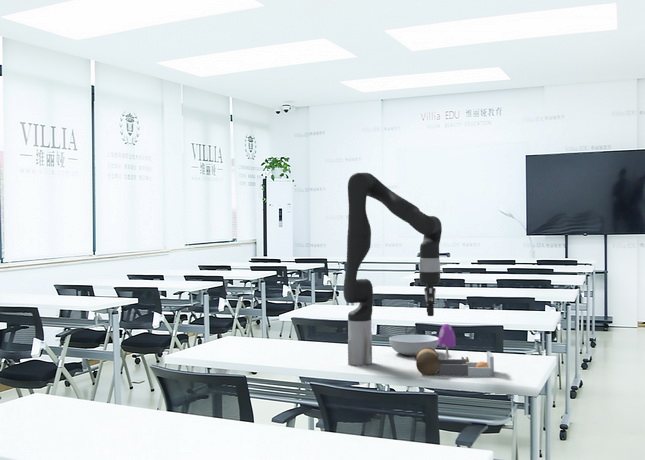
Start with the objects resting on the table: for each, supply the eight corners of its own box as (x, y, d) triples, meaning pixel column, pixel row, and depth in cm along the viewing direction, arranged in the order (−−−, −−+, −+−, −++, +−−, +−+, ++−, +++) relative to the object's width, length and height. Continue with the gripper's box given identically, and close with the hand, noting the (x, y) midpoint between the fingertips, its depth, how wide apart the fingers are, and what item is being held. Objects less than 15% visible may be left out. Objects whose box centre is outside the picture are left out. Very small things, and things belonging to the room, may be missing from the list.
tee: (461, 369, 238) (461, 358, 238) (460, 367, 241) (460, 356, 241) (469, 369, 237) (469, 358, 238) (468, 367, 240) (468, 356, 240)
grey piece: (439, 375, 228) (439, 356, 228) (438, 369, 238) (438, 351, 238) (493, 376, 226) (493, 356, 226) (490, 370, 235) (490, 351, 235)
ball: (473, 369, 229) (482, 378, 229) (483, 362, 228) (491, 370, 228) (472, 364, 233) (480, 373, 233) (482, 357, 232) (490, 366, 232)
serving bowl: (446, 352, 273) (446, 336, 273) (427, 360, 255) (426, 343, 255) (402, 348, 284) (402, 332, 284) (380, 356, 266) (380, 339, 266)
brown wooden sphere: (440, 375, 228) (439, 352, 228) (416, 375, 229) (415, 352, 229) (438, 369, 238) (438, 347, 238) (416, 369, 239) (415, 347, 239)
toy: (455, 363, 248) (455, 325, 248) (438, 363, 249) (437, 325, 249) (455, 360, 255) (455, 322, 255) (438, 360, 256) (438, 322, 256)
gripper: (441, 271, 226) (441, 317, 226) (439, 268, 240) (439, 311, 241) (419, 271, 227) (420, 317, 227) (419, 268, 241) (419, 311, 242)
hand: (430, 314), depth 234 cm, fingers open, 8 cm apart
